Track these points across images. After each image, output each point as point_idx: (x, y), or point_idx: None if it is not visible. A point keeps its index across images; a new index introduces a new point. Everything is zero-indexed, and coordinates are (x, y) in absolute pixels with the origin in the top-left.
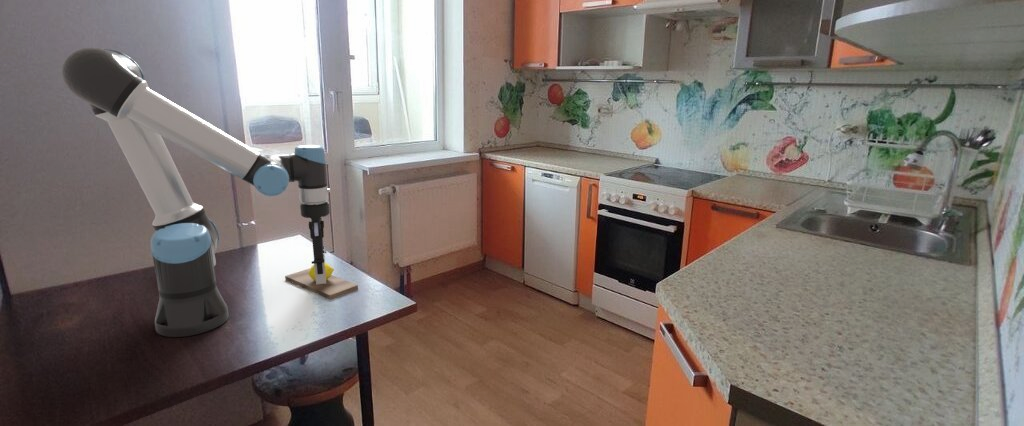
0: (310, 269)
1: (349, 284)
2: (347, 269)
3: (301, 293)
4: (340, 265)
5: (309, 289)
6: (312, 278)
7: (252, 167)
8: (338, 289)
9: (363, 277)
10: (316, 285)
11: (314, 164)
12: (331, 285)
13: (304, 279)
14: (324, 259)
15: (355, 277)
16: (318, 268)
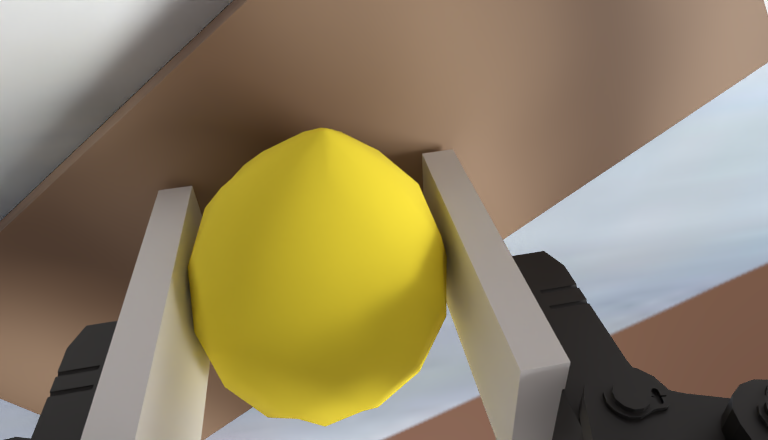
0: (287, 215)
1: None
2: (619, 317)
3: (27, 4)
4: (743, 259)
5: (135, 95)
6: (242, 168)
7: None
8: (53, 378)
9: (405, 424)
10: (155, 189)
11: None
12: None
13: (389, 14)
14: (484, 399)
15: (420, 386)
16: (51, 423)
